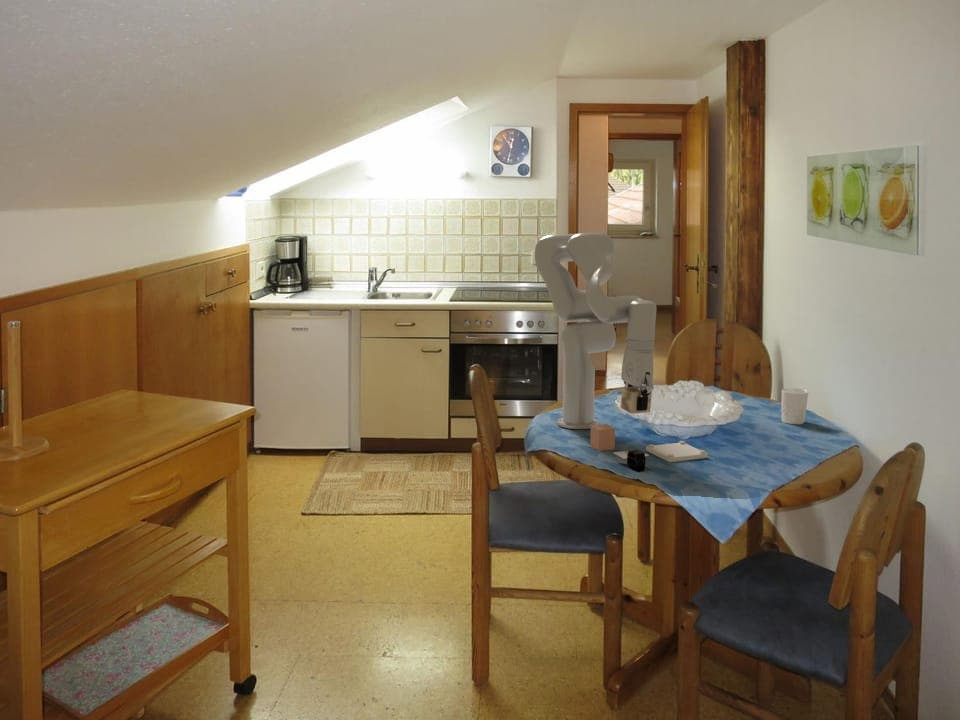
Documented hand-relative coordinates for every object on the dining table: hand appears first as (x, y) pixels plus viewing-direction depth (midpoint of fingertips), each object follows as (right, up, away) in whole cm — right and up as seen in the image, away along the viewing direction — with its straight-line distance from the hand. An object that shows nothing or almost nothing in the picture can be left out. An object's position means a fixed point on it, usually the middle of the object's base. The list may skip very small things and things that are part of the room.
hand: (635, 406), depth 269 cm
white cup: (+54, -6, +29) cm, 62 cm away
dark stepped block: (-3, -16, -18) cm, 24 cm away
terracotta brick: (-10, -12, -1) cm, 15 cm away
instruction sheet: (-3, -13, -7) cm, 15 cm away
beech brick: (0, -1, 0) cm, 1 cm away
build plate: (+10, -13, -7) cm, 18 cm away
